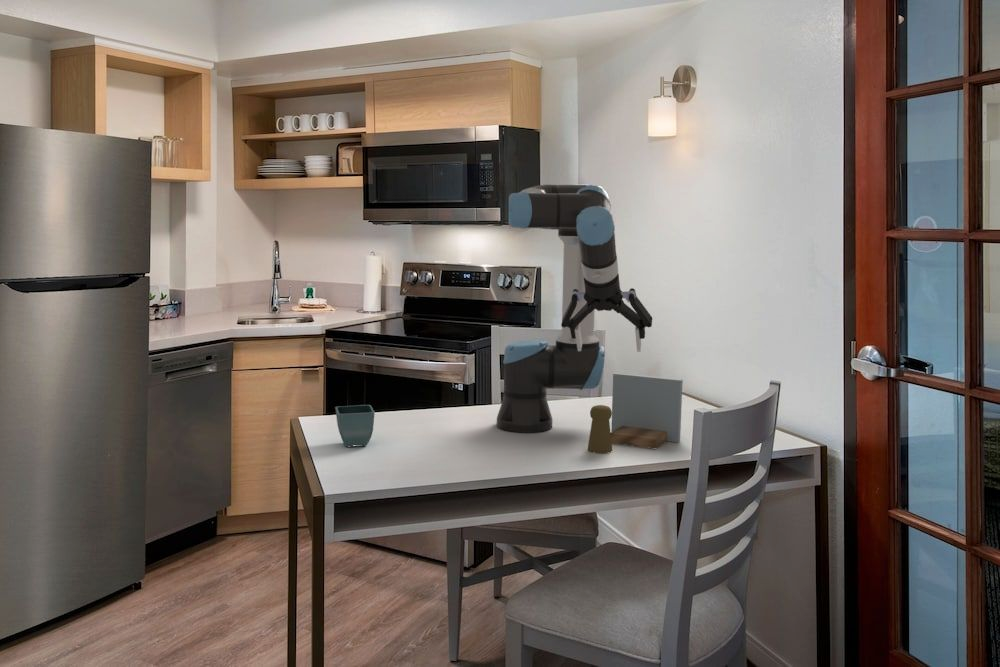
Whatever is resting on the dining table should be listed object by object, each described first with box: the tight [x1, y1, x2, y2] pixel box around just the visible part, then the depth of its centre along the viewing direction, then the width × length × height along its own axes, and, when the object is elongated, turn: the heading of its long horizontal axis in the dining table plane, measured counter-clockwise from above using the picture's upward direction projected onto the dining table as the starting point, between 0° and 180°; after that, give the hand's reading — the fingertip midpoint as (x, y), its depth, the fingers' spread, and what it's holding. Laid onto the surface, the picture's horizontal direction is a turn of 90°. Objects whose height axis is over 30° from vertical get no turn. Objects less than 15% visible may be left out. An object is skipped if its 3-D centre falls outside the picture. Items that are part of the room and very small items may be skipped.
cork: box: [587, 404, 613, 454], centre depth 207 cm, size 6×6×11 cm
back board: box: [610, 372, 684, 443], centre depth 219 cm, size 18×2×16 cm, turn 62°
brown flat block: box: [610, 426, 668, 449], centre depth 216 cm, size 12×9×2 cm
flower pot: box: [334, 404, 376, 447], centre depth 209 cm, size 9×9×9 cm
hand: (609, 347), depth 196 cm, fingers open, 13 cm apart
